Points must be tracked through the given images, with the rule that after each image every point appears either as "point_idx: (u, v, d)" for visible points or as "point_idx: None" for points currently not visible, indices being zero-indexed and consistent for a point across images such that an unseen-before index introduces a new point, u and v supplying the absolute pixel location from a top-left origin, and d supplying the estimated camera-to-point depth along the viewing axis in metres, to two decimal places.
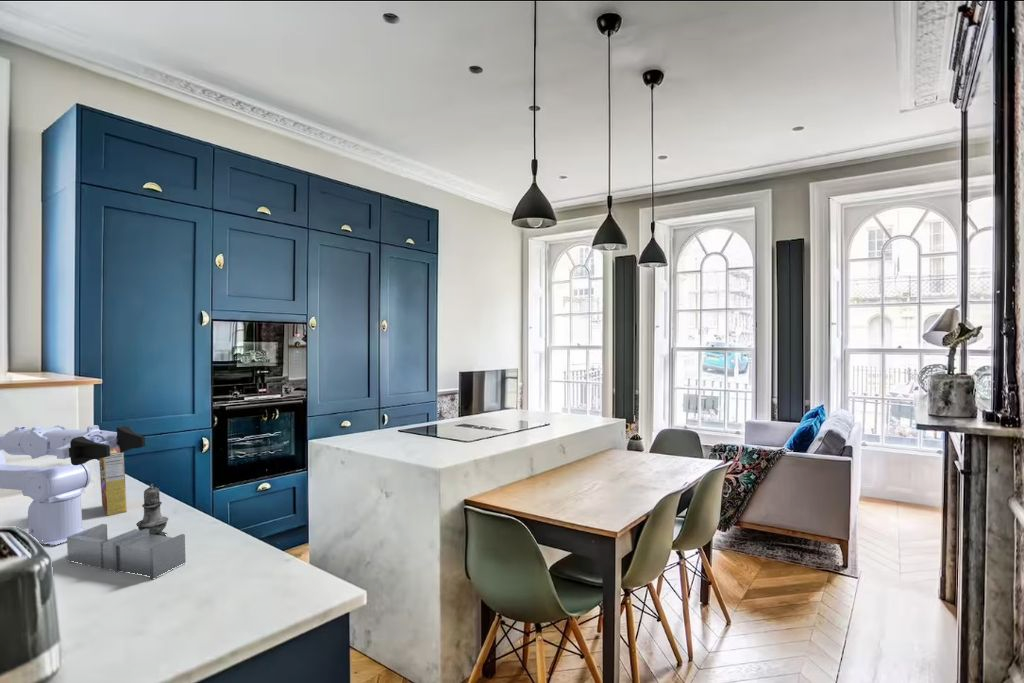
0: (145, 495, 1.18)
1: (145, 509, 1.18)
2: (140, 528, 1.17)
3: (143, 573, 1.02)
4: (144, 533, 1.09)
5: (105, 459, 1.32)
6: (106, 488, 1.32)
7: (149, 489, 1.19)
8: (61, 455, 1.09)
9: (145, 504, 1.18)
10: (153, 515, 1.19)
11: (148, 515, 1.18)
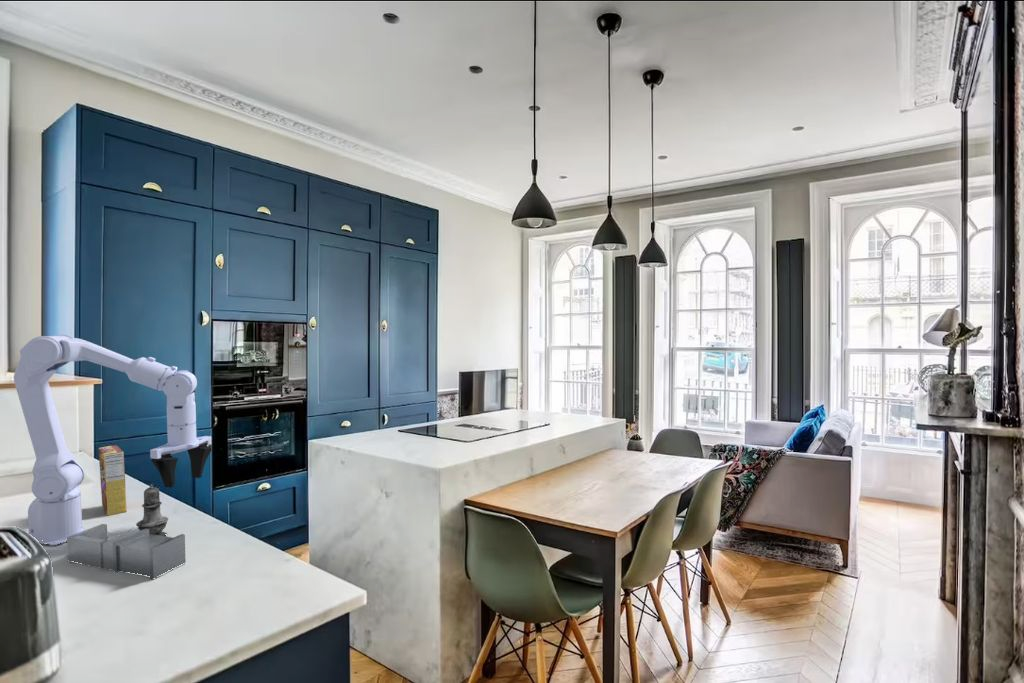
0: (145, 495, 1.18)
1: (145, 509, 1.18)
2: (140, 528, 1.17)
3: (143, 573, 1.02)
4: (144, 533, 1.09)
5: (105, 459, 1.32)
6: (106, 488, 1.32)
7: (149, 489, 1.19)
8: (152, 456, 1.20)
9: (145, 504, 1.18)
10: (153, 515, 1.19)
11: (148, 515, 1.18)
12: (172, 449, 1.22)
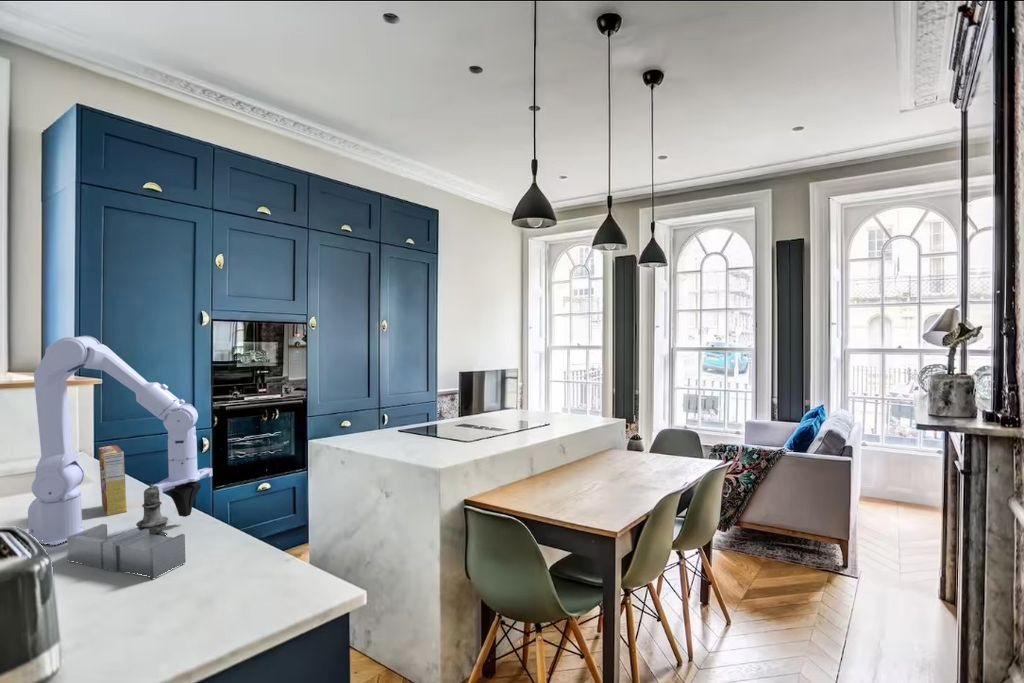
0: (145, 495, 1.18)
1: (145, 509, 1.18)
2: (140, 528, 1.17)
3: (143, 573, 1.02)
4: (144, 533, 1.09)
5: (105, 459, 1.32)
6: (106, 488, 1.32)
7: (149, 489, 1.19)
8: None
9: (145, 504, 1.18)
10: (153, 515, 1.19)
11: (148, 515, 1.18)
12: (173, 484, 1.23)
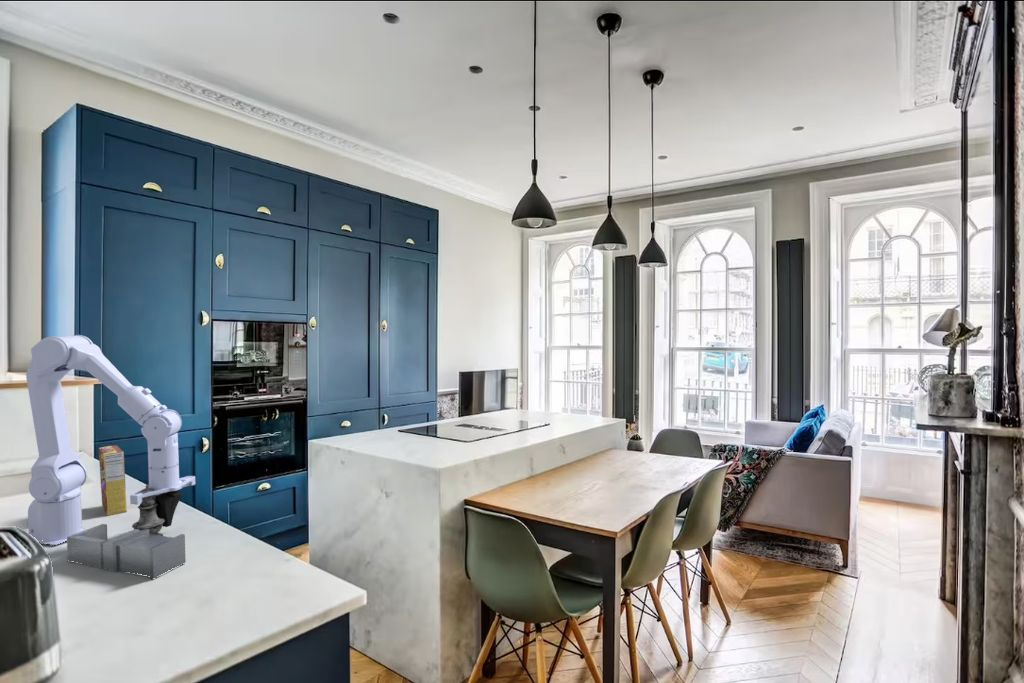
0: None
1: (141, 510, 1.17)
2: None
3: (143, 573, 1.02)
4: (144, 533, 1.09)
5: (105, 459, 1.32)
6: (106, 488, 1.32)
7: (145, 490, 1.18)
8: (132, 502, 1.16)
9: (141, 505, 1.17)
10: (149, 516, 1.18)
11: (143, 516, 1.17)
12: (153, 493, 1.18)
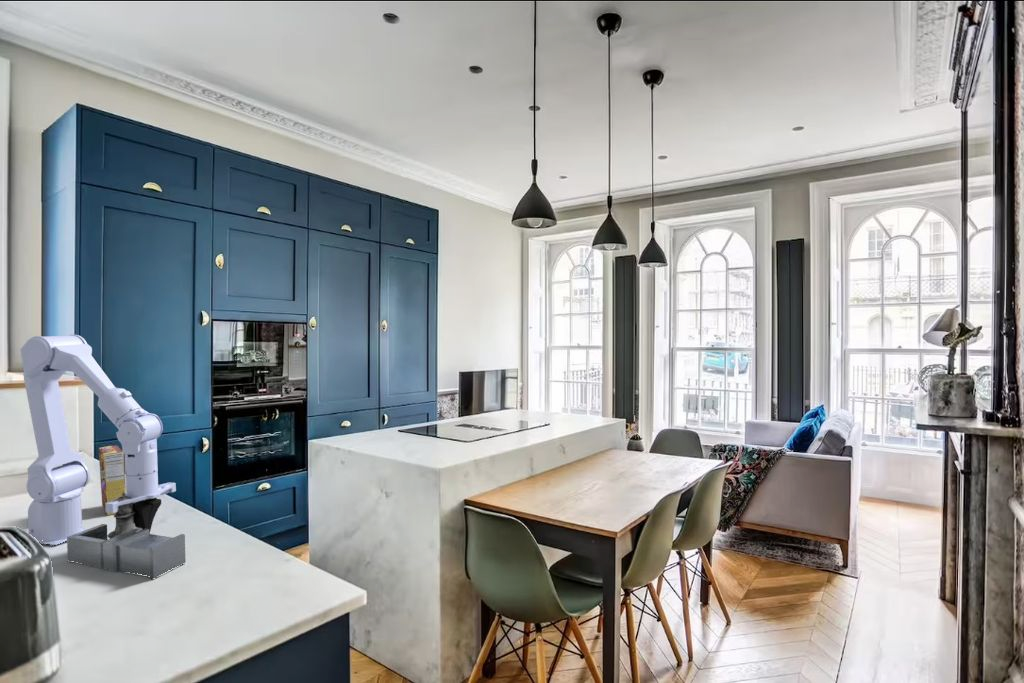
0: None
1: (117, 519, 1.12)
2: None
3: (143, 573, 1.02)
4: (144, 533, 1.09)
5: (105, 459, 1.32)
6: (106, 488, 1.32)
7: (121, 498, 1.13)
8: (107, 510, 1.11)
9: (117, 514, 1.12)
10: (126, 525, 1.13)
11: (120, 525, 1.12)
12: (130, 501, 1.13)
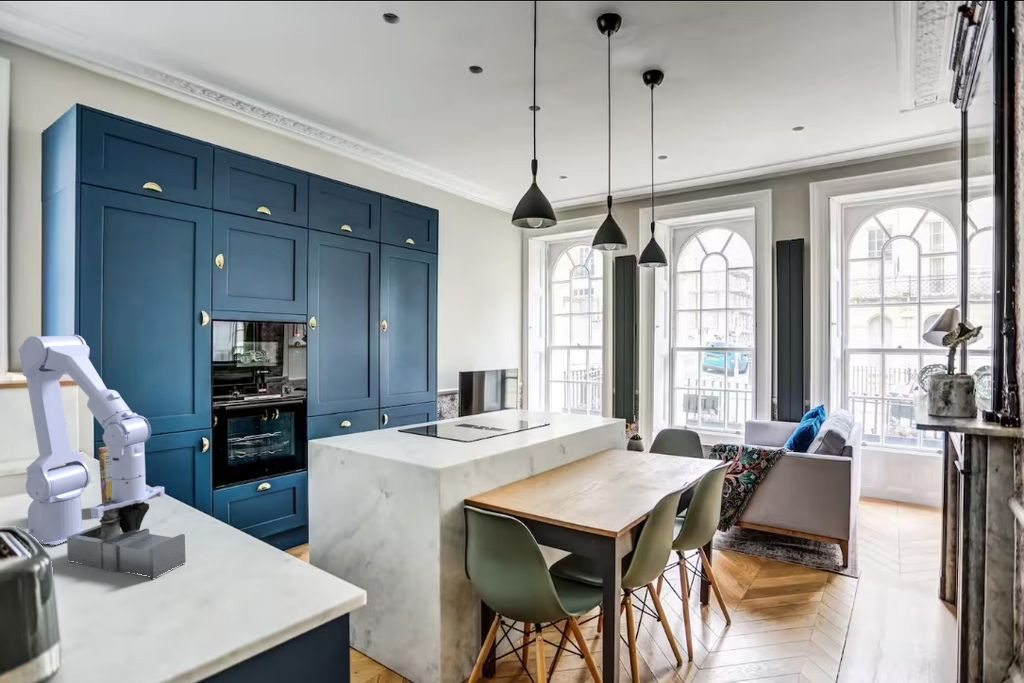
0: None
1: (102, 524, 1.10)
2: None
3: (143, 573, 1.02)
4: (144, 533, 1.09)
5: (105, 459, 1.32)
6: (106, 488, 1.32)
7: (107, 503, 1.10)
8: (93, 515, 1.08)
9: (102, 519, 1.10)
10: (112, 531, 1.10)
11: (105, 531, 1.09)
12: (116, 506, 1.10)
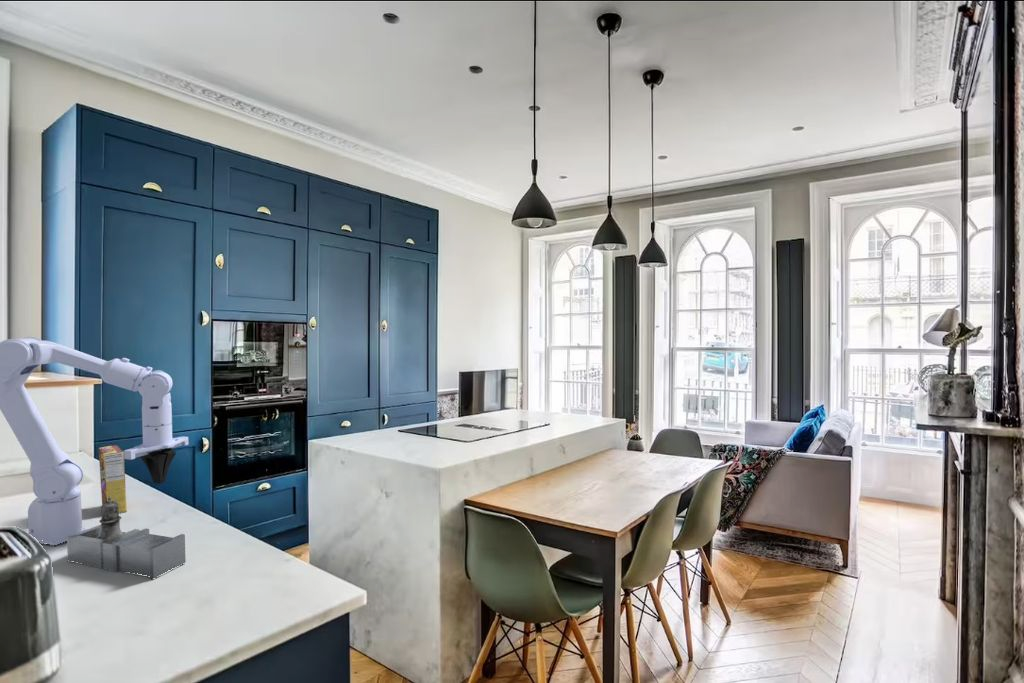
0: (102, 510, 1.09)
1: (102, 525, 1.10)
2: None
3: (143, 573, 1.02)
4: (144, 533, 1.09)
5: (105, 459, 1.32)
6: (106, 488, 1.32)
7: (107, 503, 1.10)
8: (126, 457, 1.19)
9: (102, 519, 1.10)
10: (112, 531, 1.10)
11: (105, 531, 1.09)
12: (147, 450, 1.22)
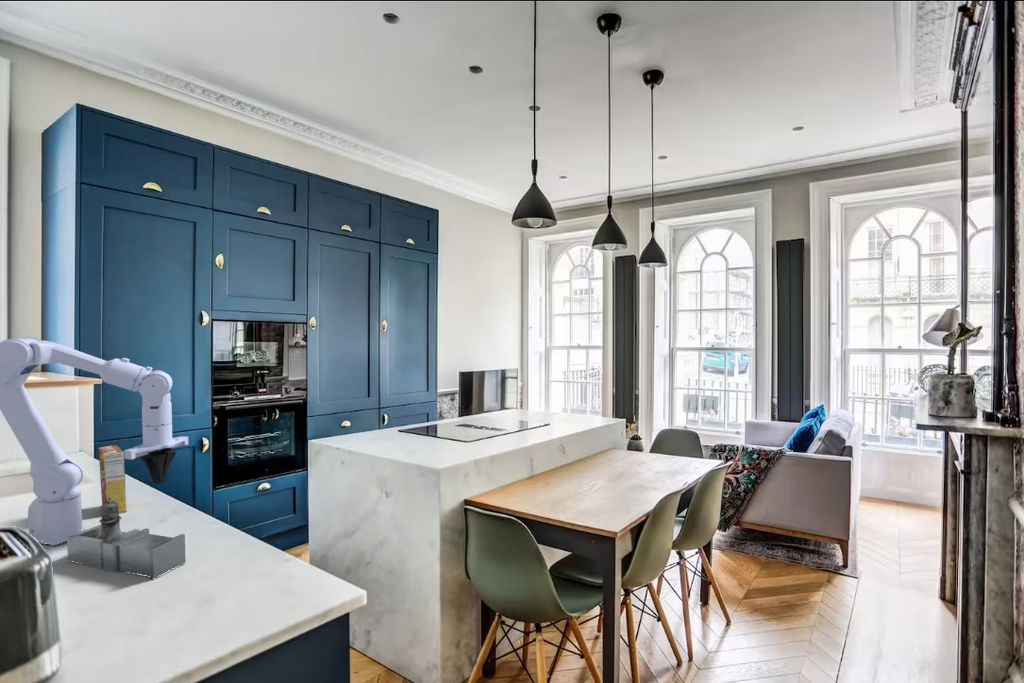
0: (102, 510, 1.09)
1: (102, 525, 1.10)
2: None
3: (143, 573, 1.02)
4: (144, 533, 1.09)
5: (105, 459, 1.32)
6: (106, 488, 1.32)
7: (107, 503, 1.10)
8: (126, 457, 1.19)
9: (102, 519, 1.10)
10: (112, 531, 1.10)
11: (105, 531, 1.09)
12: (147, 449, 1.22)
